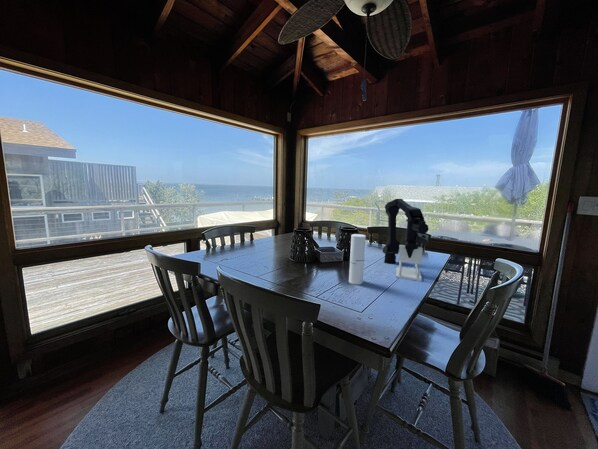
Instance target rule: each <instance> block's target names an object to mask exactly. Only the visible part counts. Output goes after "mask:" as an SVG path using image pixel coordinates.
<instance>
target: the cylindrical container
mask: <svg viewBox="0 0 598 449" xmlns="http://www.w3.org/2000/svg"><path fill="white" fill-rule="evenodd" d="M350 237H351V238H350V256H349V271H348V283H350V284H352V285H362V284H363V282H364V271H365V269H364V267H365V256H366V255H365V252H366V240H367V239H366V238H367V235H366V234H362V233H361V234H360V233H353V234H351V236H350Z"/></svg>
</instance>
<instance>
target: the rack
mask: <svg viewBox="0 0 598 449" xmlns="http://www.w3.org/2000/svg"><path fill="white" fill-rule="evenodd" d="M398 262H399V264H398V266H396V269H395V271H396V272H395V278H396V279H404V280H410V281H418V282H423V279H422V274H421V270H420V267H419V263H414V264H415V265H414V268H413V267H405V266H403V263H402V262H403V261H398Z"/></svg>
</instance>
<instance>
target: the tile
mask: <svg viewBox="0 0 598 449" xmlns="http://www.w3.org/2000/svg"><path fill="white" fill-rule="evenodd" d="M423 249H424V248H423V246H422V247H421V246H418V249H414V250H413V253H412V256H411V258H409V257H408V254H407V251H406V248H405V244H399V252H398V257H397V258H398V259H397V260H398V262H399V261H402V262H403V263H404V262H405V263H413V264H416V263H418V265H419V264H422V257H423Z"/></svg>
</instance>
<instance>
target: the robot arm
mask: <svg viewBox="0 0 598 449" xmlns="http://www.w3.org/2000/svg"><path fill="white" fill-rule="evenodd" d="M384 209H385V214H386V215H387V218H388V219H387V221H388V222H387V223H388V224H387V225H388V228H387V230H388V231H387V234H388V237H387V240H386V241H385V245H384V247H383V248H382V253H383V254H384V261H383V262H384V263H385V264H390V265H391V264H392V265H393V264H395V263H396V262H397V261H396V260H397V255H399V247H400V240H398V238H397V216H398V214H399V212H400V210H402V212H404V216H405V217H406V218H407V219H406V220H405V222H407V225H406V232H405V233H406V234H405V237H404V245H405V248H406V251H407V254H408V257H409V258H411V256H412V253H413V250H414V249H418V247H419V244H418V243H420V244H422V245H424V246H427V244H428V242H429V239H428V238H427V237H426V234H427V233H428V231H429V229H430V228H429V225H428V224H427V223H426V221H425V217H424V215H423V212H422V209H421V208H419V207H414V206H411V205H410V204H409V203H408V202H406V201H405V200H404V199H403V198H395V199H393V200H391V201H388V202H387V203H386V204H385V206H384ZM419 234H420V235H419Z"/></svg>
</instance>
